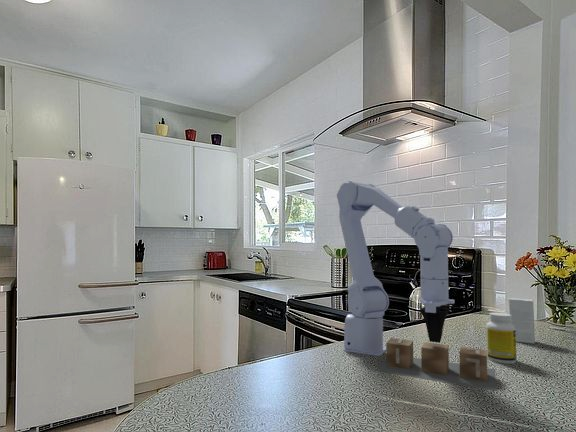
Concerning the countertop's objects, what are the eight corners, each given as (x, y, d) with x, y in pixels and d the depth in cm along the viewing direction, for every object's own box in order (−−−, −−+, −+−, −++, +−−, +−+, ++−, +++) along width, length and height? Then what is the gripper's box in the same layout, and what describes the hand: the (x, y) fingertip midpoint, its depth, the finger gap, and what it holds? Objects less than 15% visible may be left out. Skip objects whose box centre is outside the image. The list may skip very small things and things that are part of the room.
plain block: (421, 371, 82) (421, 347, 82) (424, 364, 86) (424, 342, 87) (446, 375, 80) (446, 350, 80) (448, 368, 84) (448, 345, 84)
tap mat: (374, 371, 82) (374, 370, 82) (389, 355, 94) (389, 353, 94) (496, 392, 71) (496, 390, 71) (495, 370, 84) (495, 369, 84)
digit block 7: (459, 377, 78) (459, 351, 79) (461, 370, 83) (460, 346, 83) (487, 382, 76) (486, 355, 76) (487, 374, 80) (486, 349, 81)
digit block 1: (386, 365, 85) (386, 342, 86) (391, 359, 90) (391, 337, 90) (409, 369, 83) (409, 345, 83) (413, 363, 87) (413, 340, 88)
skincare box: (534, 341, 110) (533, 299, 111) (535, 344, 107) (533, 301, 108) (510, 338, 114) (509, 297, 115) (509, 341, 110) (508, 299, 111)
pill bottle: (520, 366, 87) (519, 317, 88) (491, 364, 89) (490, 315, 89) (510, 358, 93) (509, 312, 94) (483, 356, 95) (482, 311, 95)
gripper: (451, 282, 76) (452, 352, 75) (456, 277, 89) (457, 336, 88) (414, 280, 79) (415, 347, 78) (424, 275, 92) (425, 333, 91)
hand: (435, 341), depth 83 cm, fingers closed
